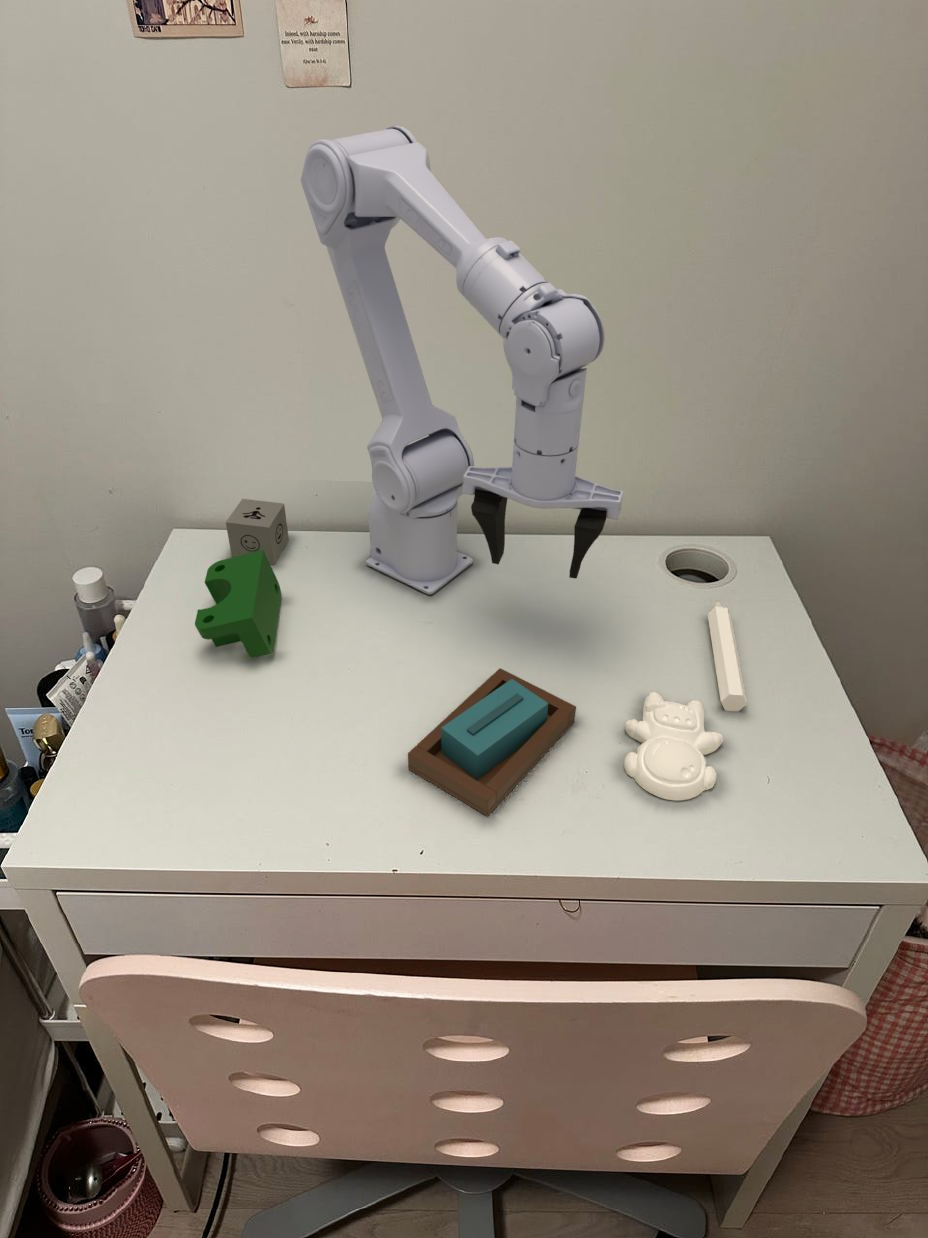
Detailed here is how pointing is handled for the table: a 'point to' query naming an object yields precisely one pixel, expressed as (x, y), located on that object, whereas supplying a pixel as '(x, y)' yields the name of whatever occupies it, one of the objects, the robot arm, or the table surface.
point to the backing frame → (509, 771)
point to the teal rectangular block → (493, 728)
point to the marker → (726, 659)
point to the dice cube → (258, 529)
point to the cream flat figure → (671, 749)
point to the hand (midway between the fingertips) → (535, 565)
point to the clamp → (242, 604)
